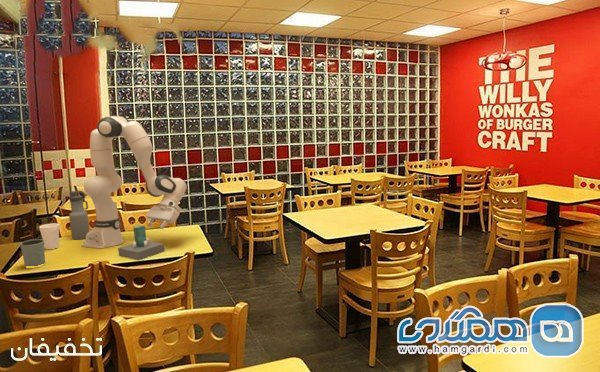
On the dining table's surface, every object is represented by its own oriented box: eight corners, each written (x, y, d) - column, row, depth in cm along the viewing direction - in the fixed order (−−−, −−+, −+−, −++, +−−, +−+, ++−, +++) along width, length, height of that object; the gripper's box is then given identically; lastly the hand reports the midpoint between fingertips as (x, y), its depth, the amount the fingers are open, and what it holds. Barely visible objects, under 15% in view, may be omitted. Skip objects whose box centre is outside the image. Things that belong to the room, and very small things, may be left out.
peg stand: (118, 255, 231) (117, 242, 230) (145, 247, 244) (143, 234, 243) (138, 260, 222) (137, 246, 221) (164, 251, 235) (163, 238, 234)
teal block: (135, 246, 232) (133, 227, 231) (141, 244, 235) (139, 225, 234) (140, 247, 230) (138, 228, 228) (146, 245, 233) (144, 226, 232)
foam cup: (41, 252, 243) (38, 228, 241) (43, 247, 251) (40, 224, 249) (61, 249, 247) (58, 226, 244) (62, 244, 255) (59, 222, 253)
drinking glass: (36, 261, 227) (32, 238, 225) (52, 262, 224) (49, 239, 222) (18, 268, 217) (14, 244, 215) (35, 269, 215) (31, 245, 213)
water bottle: (82, 234, 276) (76, 189, 271) (94, 235, 272) (88, 189, 267) (68, 239, 266) (62, 192, 262) (80, 240, 263) (74, 193, 258)
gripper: (151, 200, 249) (138, 222, 243) (176, 203, 237) (163, 226, 231) (159, 207, 253) (146, 228, 247) (184, 210, 242) (171, 232, 235)
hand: (154, 227), depth 239 cm, fingers open, 8 cm apart
